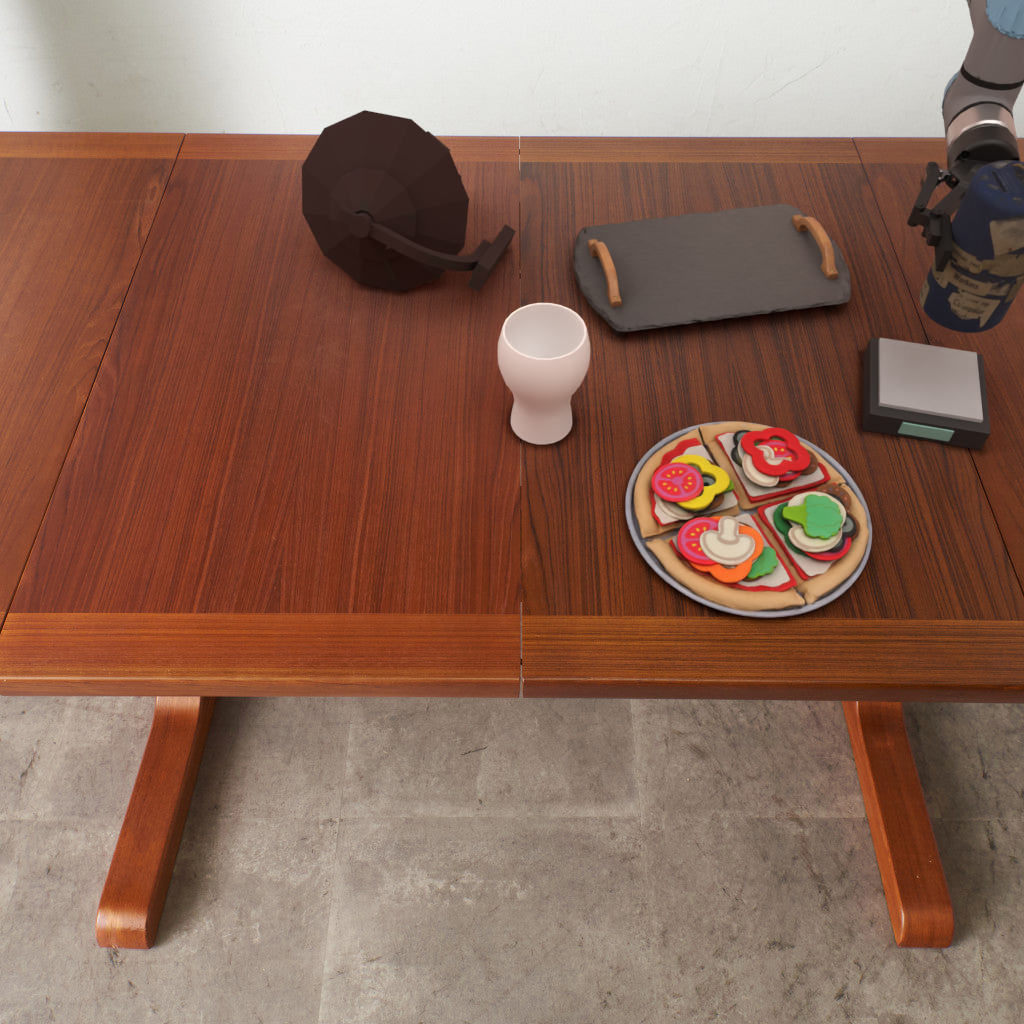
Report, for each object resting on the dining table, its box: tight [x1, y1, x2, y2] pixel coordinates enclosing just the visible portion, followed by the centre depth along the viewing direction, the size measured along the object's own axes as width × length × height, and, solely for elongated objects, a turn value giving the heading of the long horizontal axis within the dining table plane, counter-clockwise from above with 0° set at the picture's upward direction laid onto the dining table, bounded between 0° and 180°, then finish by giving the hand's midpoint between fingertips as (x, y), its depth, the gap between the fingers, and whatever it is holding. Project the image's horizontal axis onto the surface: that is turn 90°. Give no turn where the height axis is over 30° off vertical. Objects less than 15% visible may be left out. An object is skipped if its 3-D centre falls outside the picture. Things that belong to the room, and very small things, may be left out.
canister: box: [919, 160, 1024, 334], centre depth 97 cm, size 10×10×18 cm
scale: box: [862, 337, 991, 451], centre depth 113 cm, size 14×14×4 cm
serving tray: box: [572, 203, 852, 338], centre depth 126 cm, size 39×23×6 cm, turn 101°
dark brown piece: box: [301, 109, 517, 294], centre depth 126 cm, size 24×29×30 cm
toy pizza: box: [624, 420, 873, 619], centre depth 101 cm, size 28×28×4 cm
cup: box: [497, 302, 591, 445], centre depth 106 cm, size 11×11×15 cm
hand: (995, 268), depth 94 cm, fingers closed on canister, 9 cm apart
